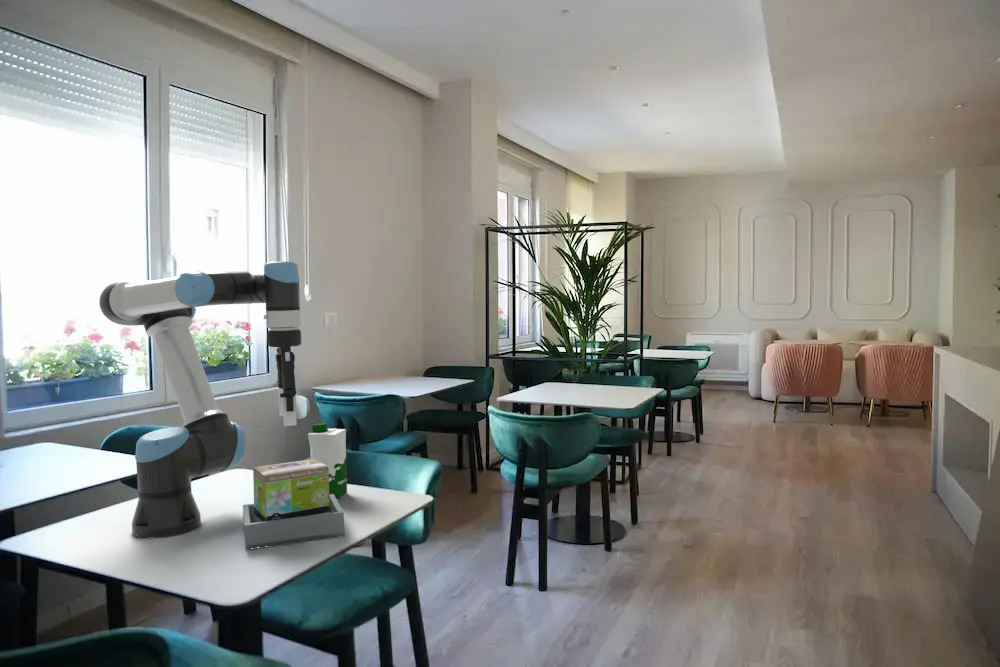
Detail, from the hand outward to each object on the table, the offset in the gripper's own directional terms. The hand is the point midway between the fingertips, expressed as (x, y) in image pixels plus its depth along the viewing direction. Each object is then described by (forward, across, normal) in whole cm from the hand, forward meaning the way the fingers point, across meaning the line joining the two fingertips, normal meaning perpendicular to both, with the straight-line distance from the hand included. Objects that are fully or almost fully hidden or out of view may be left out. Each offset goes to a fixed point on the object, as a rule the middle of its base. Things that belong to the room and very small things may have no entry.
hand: (287, 420), depth 171 cm
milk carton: (+27, -26, +12) cm, 39 cm away
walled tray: (+26, 0, 0) cm, 26 cm away
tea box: (+26, 0, 0) cm, 26 cm away
